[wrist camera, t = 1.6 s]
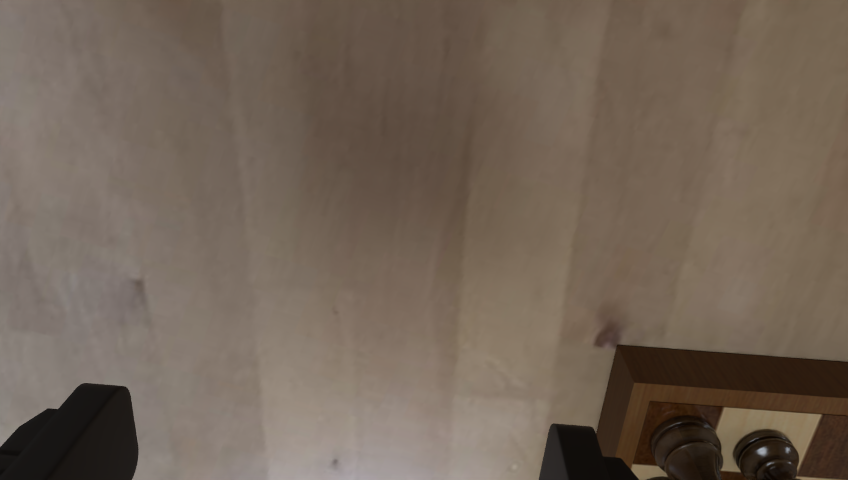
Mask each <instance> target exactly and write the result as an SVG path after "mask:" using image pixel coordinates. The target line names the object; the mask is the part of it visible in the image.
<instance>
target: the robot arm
mask: <svg viewBox="0 0 848 480" xmlns="http://www.w3.org/2000/svg"><path fill="white" fill-rule="evenodd" d="M137 461H138V442H137V436H136V429H135V422H134V416H133V409H132V402H131V396H130V392H129V390H128V389H127V388H126V387H124V386H115V385H103V384H91V383H83V384H81V385H80V386H78V387H77V388H76V389H75V390H74V392H73V393H72V394H71V395H70V396H69V397H68V398H67V400H66V401H65V402H64V403H63V404H62V405H61V407H60V408H59V409H46V410H45V411H43V412H42V413H40V414H39V415H37V416H35V417H34V418H32V419H31V420H29V421H28V422H26V423H24V424H23V425H21V426H20V427H18V429H17V430H16V431H15V432H14V433H13V434H12V435H11V436H10V437H9V438H8V439H7V441H6V442H5V443H4V444H3V445H2V446H1V447H0V480H132V478H133V476H134V473H135V470H136V466H137ZM539 480H639V479H638V477H637V476H636V475H635V474H634V473H633V472H632V470H631V469H630V468H629V467H628V466H627V465H626V463H625V462H624V461H623V460H622V459H621V458H616V457H604V456H603V455H602V452H601V449H600V446H599V443H598V440H597V436H596V433H595V431H594V429H593V428H592V427H588V426H577V425H565V424H552V425H551V426H550V429H549V433H548V438H547V443H546V448H545V452H544V457H543V462H542V467H541V472H540V477H539Z"/></svg>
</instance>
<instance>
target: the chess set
mask: <svg viewBox="0 0 848 480" xmlns="http://www.w3.org/2000/svg"><path fill="white" fill-rule="evenodd" d="M596 436H597V440H598V443H599V446H600V449H601V452H602V455H603V456H604V457H616V458H621V459H622V460H623V461H624V462H625V463H626V465H627V466H628V467H629V468H630V469H631V470H632V472H633V473H634V474H635V475H636V476H637V477H638V479H639V480H848V362H835V361H822V360H809V359H795V358H782V357H768V356H755V355H741V354H728V353H714V352H701V351H687V350H674V349H660V348H647V347H633V346H620V345H618V346H617V350H616V354H615V358H614V363H613V367H612V371H611V375H610V380H609V384H608V388H607V392H606V397H605V401H604V405H603V409H602V414H601V418H600V422H599V426H598V431H597V435H596Z"/></svg>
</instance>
